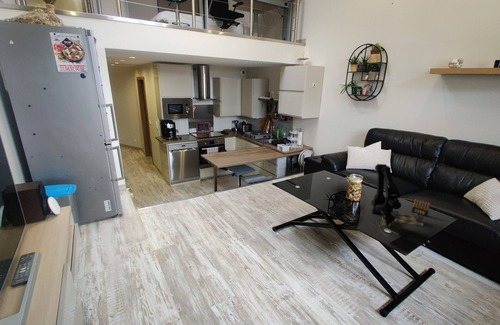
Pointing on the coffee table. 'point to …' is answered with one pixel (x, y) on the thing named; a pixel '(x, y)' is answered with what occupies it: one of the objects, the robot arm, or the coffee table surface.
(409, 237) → the coffee table surface
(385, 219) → the block
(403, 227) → the coffee table surface
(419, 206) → the ammunition clip
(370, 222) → the pliers
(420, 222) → the shaft stand
